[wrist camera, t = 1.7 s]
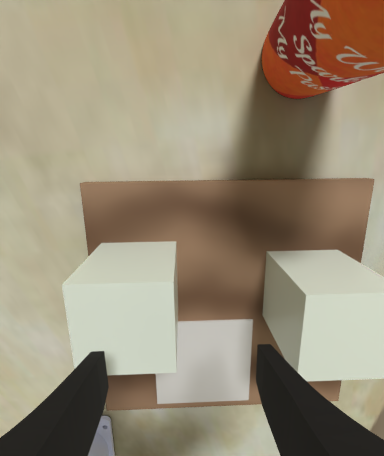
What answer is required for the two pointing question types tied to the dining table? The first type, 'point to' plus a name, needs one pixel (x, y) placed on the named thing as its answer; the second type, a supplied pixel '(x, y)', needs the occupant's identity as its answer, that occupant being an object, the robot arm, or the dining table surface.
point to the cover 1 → (125, 307)
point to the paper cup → (323, 45)
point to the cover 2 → (325, 314)
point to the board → (225, 249)
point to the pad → (209, 363)
